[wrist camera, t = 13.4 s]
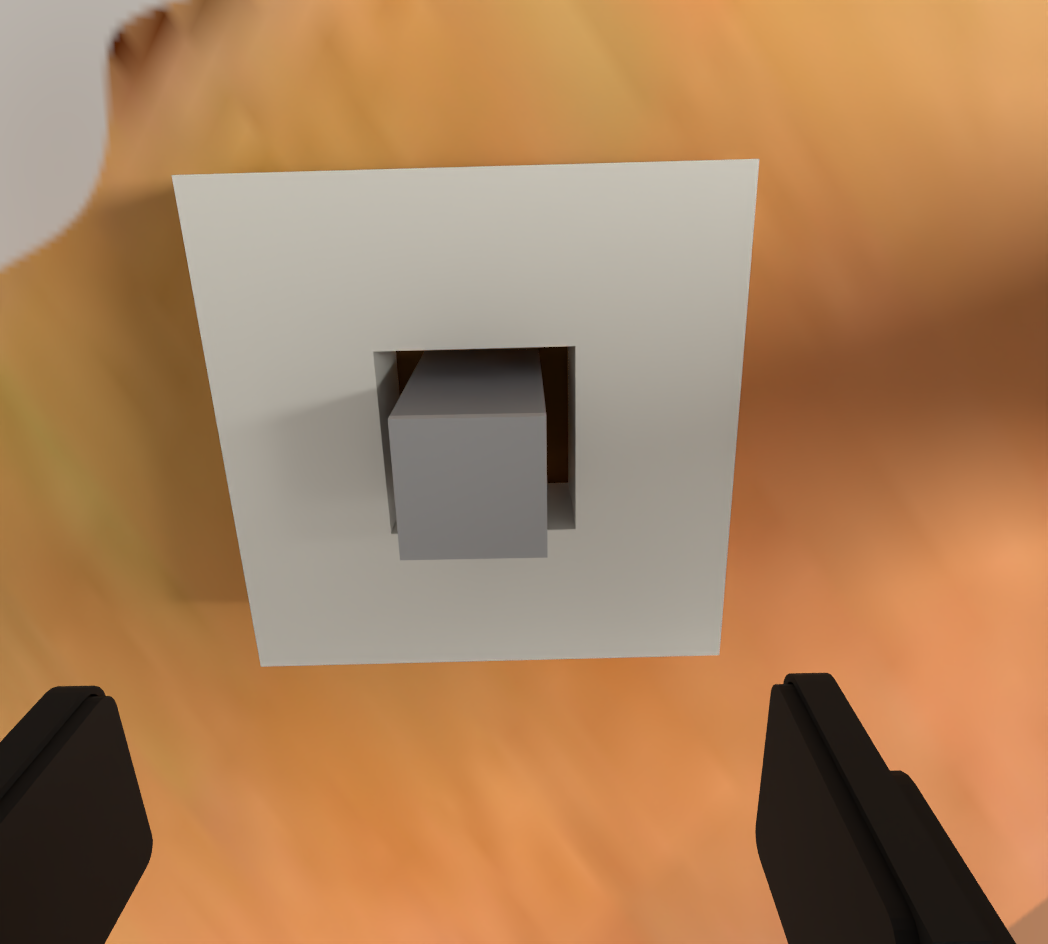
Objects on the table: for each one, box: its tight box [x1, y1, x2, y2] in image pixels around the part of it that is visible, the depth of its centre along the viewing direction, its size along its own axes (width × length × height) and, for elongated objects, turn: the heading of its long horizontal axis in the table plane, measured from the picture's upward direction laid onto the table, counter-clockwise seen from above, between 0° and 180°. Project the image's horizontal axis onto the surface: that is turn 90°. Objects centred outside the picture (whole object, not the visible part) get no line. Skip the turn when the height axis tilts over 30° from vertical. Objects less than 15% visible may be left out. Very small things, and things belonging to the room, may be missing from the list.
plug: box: [388, 348, 548, 560], centre depth 24 cm, size 4×4×8 cm
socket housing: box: [172, 159, 759, 667], centre depth 25 cm, size 16×16×4 cm
